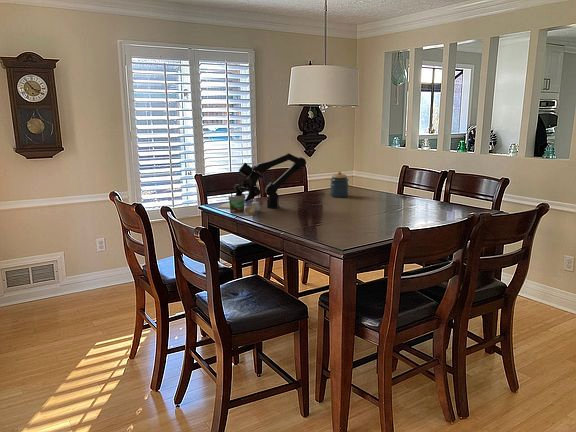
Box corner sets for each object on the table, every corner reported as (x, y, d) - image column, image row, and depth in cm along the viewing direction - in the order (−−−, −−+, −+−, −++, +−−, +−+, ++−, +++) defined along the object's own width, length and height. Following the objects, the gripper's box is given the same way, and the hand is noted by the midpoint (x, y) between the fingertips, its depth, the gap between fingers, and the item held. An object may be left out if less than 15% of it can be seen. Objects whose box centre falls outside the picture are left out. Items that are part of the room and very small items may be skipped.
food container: (236, 214, 275) (235, 197, 273) (228, 212, 279) (228, 196, 277) (250, 210, 285) (249, 194, 282) (242, 209, 288) (242, 193, 286)
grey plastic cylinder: (260, 210, 286) (260, 202, 285) (257, 211, 281) (257, 203, 280) (253, 209, 287) (252, 201, 286) (250, 211, 283) (249, 203, 282)
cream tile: (245, 205, 303) (245, 203, 302) (236, 209, 290) (236, 207, 289) (227, 204, 307) (227, 202, 306) (218, 208, 294) (218, 206, 293)
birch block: (254, 214, 275) (254, 206, 274) (251, 215, 271) (251, 207, 270) (247, 213, 277) (247, 206, 276) (244, 215, 272) (244, 207, 271)
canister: (327, 195, 337) (327, 170, 334) (344, 194, 340) (345, 170, 337) (333, 198, 325) (333, 172, 321) (351, 197, 328) (351, 172, 324)
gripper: (234, 171, 287) (222, 191, 281) (257, 173, 276) (244, 194, 270) (244, 182, 295) (232, 202, 289) (266, 184, 284) (254, 205, 278)
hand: (240, 200), depth 281 cm, fingers open, 8 cm apart
